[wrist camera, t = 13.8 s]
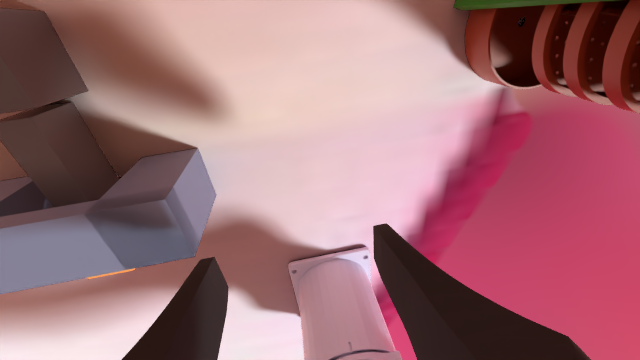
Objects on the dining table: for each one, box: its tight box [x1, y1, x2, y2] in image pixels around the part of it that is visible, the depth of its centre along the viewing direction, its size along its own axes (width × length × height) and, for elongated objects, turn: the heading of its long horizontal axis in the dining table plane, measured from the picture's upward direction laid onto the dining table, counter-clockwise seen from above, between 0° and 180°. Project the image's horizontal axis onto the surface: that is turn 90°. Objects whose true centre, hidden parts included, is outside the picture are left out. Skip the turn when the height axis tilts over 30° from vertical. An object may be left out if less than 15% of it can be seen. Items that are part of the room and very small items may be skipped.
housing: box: [0, 148, 216, 294], centre depth 16 cm, size 4×14×6 cm, turn 97°
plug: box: [0, 8, 136, 279], centre depth 15 cm, size 16×4×4 cm, turn 7°
